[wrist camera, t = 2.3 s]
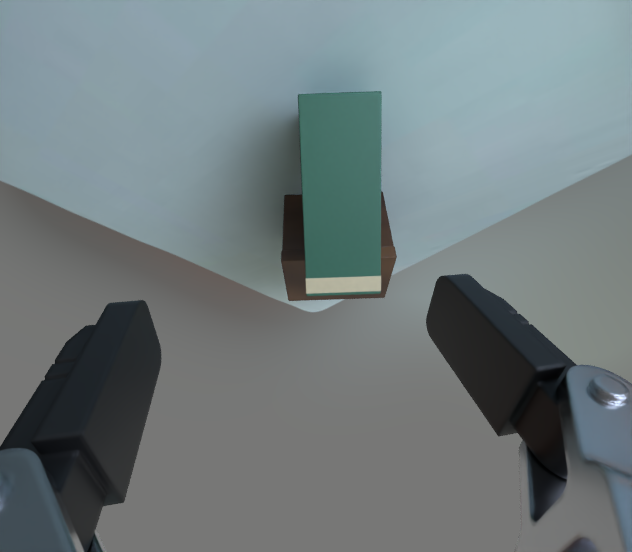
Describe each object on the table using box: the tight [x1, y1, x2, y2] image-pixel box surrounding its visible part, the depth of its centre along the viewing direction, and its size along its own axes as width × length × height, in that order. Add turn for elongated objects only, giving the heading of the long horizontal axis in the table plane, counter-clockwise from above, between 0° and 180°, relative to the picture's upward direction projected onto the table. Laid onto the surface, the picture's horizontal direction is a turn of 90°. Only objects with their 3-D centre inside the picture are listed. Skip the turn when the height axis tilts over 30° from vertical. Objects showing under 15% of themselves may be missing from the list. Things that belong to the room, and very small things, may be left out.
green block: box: [298, 91, 381, 296], centre depth 25 cm, size 13×6×13 cm, turn 2°
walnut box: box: [281, 192, 397, 301], centre depth 34 cm, size 7×10×8 cm
